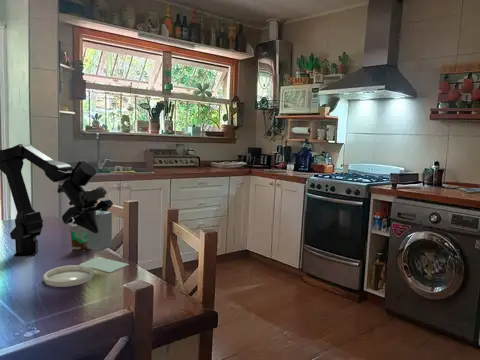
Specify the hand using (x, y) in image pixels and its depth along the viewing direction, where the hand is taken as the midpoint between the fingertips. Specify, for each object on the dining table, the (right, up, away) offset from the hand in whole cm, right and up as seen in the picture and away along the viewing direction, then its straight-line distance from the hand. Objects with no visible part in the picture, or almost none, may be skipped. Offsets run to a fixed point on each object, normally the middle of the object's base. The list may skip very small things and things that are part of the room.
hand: (102, 230), depth 130 cm
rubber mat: (-1, -13, +4) cm, 14 cm away
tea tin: (-2, -6, +1) cm, 6 cm away
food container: (-15, -10, +23) cm, 29 cm away
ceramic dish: (-8, -14, -8) cm, 18 cm away
